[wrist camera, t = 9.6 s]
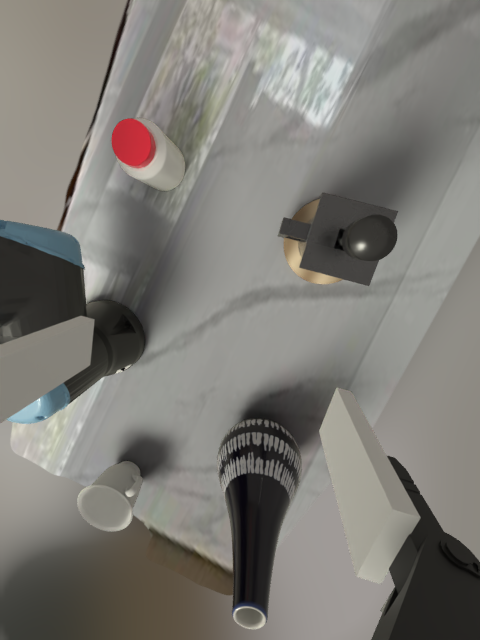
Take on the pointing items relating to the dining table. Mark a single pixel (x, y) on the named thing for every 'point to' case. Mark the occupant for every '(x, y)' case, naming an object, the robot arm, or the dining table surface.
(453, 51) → the dining table surface
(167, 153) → the pill bottle
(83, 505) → the teacup
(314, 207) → the ring
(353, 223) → the plunger
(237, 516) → the vase
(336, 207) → the french press
